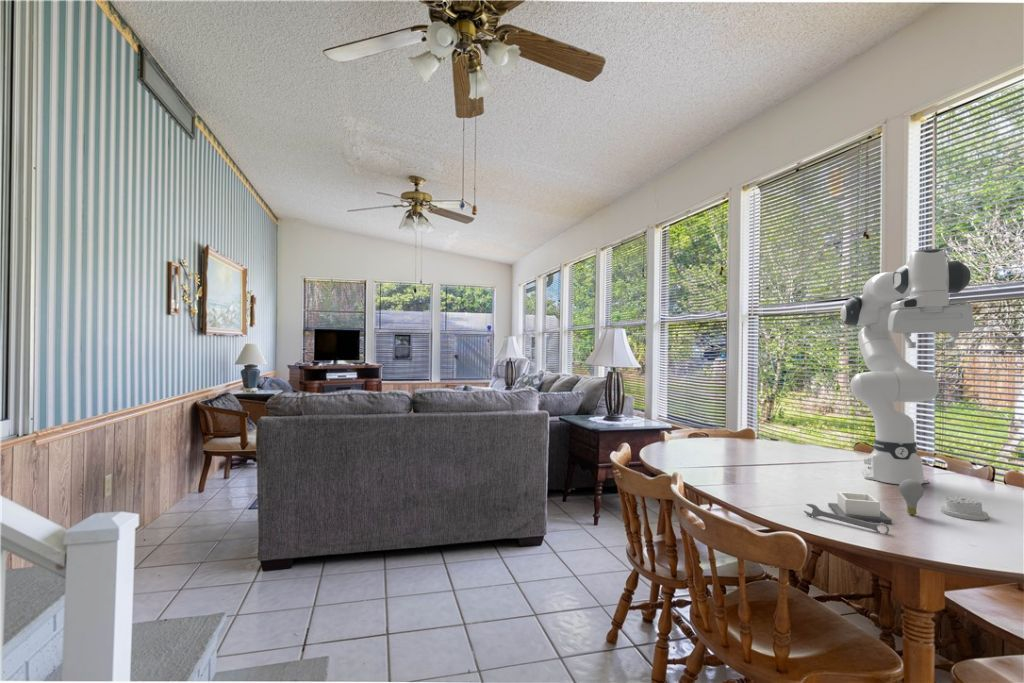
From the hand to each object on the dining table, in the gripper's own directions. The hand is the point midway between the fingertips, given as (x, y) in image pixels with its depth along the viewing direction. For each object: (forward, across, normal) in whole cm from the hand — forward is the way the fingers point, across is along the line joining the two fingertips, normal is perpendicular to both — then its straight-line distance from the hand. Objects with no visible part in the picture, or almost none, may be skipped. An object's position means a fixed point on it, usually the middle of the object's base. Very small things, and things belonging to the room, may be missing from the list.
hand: (930, 347), depth 147 cm
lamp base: (+47, +24, +14) cm, 55 cm away
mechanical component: (+48, -4, +6) cm, 48 cm away
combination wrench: (+48, +30, +24) cm, 62 cm away
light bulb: (+48, +10, +11) cm, 50 cm away
